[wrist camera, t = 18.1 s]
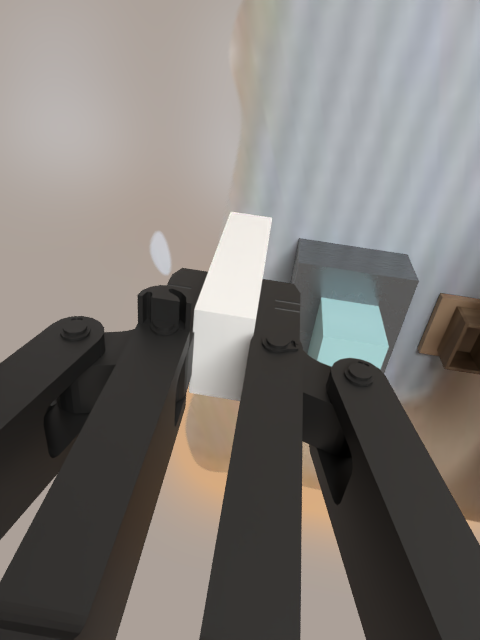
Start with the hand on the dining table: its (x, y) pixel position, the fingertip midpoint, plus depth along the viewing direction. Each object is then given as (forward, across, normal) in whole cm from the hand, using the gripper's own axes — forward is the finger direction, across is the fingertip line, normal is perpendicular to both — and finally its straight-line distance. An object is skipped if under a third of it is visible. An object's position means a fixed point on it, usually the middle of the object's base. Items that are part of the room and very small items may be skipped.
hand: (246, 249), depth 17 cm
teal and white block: (+30, +10, -21) cm, 38 cm away
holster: (+32, +25, -21) cm, 46 cm away
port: (+32, +10, -21) cm, 40 cm away
